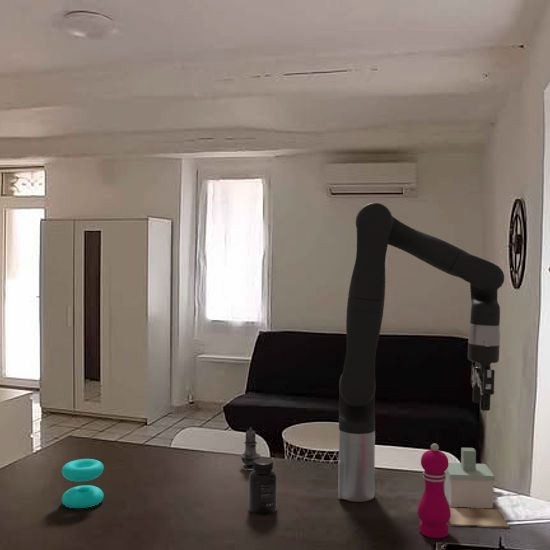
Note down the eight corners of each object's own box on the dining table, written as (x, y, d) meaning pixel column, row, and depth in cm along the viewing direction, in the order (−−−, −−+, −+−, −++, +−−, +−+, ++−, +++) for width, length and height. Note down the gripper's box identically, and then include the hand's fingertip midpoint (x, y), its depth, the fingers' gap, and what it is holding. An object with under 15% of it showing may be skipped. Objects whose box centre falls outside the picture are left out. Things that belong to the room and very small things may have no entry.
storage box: (451, 507, 161) (451, 479, 161) (444, 494, 170) (445, 467, 170) (492, 508, 160) (492, 480, 160) (483, 495, 169) (484, 468, 169)
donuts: (52, 466, 159) (81, 455, 169) (52, 506, 160) (81, 493, 169) (84, 472, 155) (112, 460, 164) (84, 513, 156) (112, 500, 165)
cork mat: (451, 525, 150) (451, 524, 150) (443, 509, 159) (443, 507, 159) (509, 528, 148) (509, 526, 148) (498, 511, 158) (498, 509, 158)
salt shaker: (257, 471, 187) (258, 430, 187) (238, 470, 188) (238, 428, 188) (262, 465, 193) (262, 425, 193) (243, 464, 194) (243, 423, 194)
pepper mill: (413, 526, 149) (414, 439, 149) (444, 525, 150) (444, 438, 149) (423, 539, 142) (424, 448, 141) (455, 538, 142) (456, 447, 142)
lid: (450, 483, 160) (450, 454, 160) (443, 471, 170) (443, 443, 170) (494, 485, 159) (494, 455, 159) (485, 472, 169) (485, 444, 169)
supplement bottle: (280, 507, 160) (280, 458, 160) (271, 517, 154) (271, 466, 154) (254, 503, 163) (254, 455, 162) (244, 513, 156) (244, 463, 156)
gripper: (462, 338, 171) (460, 399, 172) (475, 345, 157) (471, 412, 158) (492, 339, 171) (489, 401, 171) (506, 346, 157) (503, 413, 157)
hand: (480, 406), depth 164 cm, fingers open, 8 cm apart
